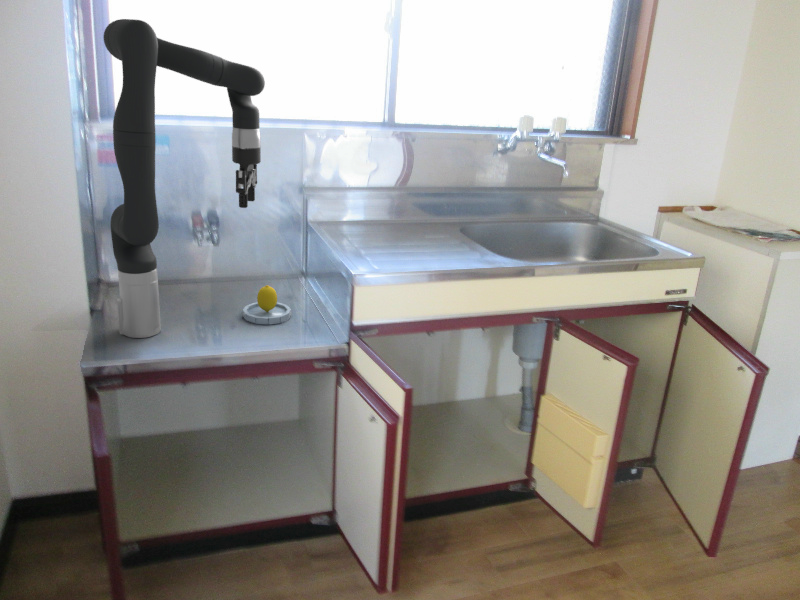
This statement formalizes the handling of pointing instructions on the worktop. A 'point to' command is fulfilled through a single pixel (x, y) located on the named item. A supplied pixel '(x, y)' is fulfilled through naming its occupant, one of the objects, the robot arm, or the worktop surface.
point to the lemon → (267, 298)
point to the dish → (266, 314)
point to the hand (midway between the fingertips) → (247, 204)
